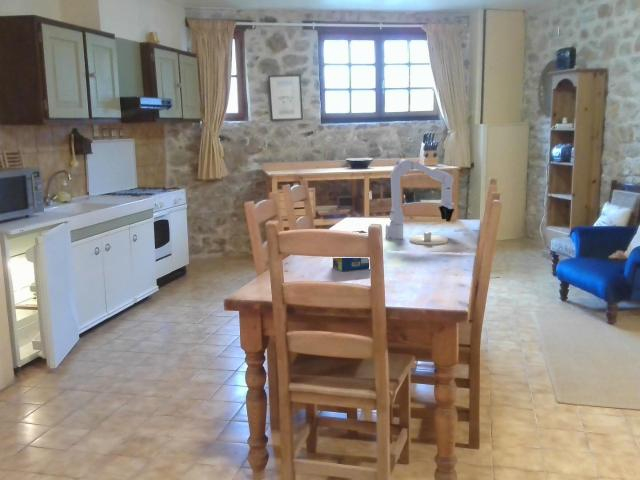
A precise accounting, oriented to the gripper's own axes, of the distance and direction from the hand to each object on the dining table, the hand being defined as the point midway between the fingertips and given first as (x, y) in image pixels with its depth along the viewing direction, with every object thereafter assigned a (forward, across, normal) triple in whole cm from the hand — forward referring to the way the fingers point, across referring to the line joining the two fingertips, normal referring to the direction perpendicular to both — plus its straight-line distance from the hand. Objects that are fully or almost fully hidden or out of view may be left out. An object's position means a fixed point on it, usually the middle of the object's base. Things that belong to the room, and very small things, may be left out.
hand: (446, 220), depth 334 cm
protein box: (+10, -60, +62) cm, 87 cm away
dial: (+9, -13, +14) cm, 21 cm away
